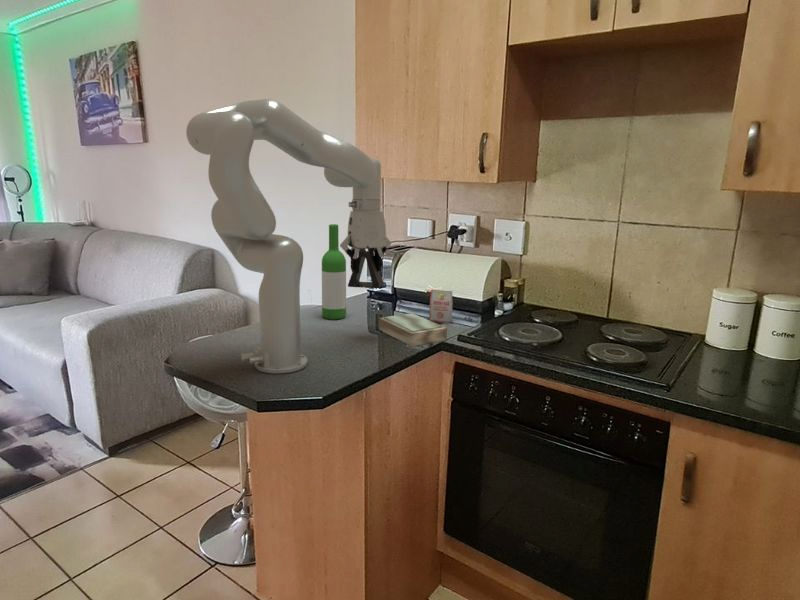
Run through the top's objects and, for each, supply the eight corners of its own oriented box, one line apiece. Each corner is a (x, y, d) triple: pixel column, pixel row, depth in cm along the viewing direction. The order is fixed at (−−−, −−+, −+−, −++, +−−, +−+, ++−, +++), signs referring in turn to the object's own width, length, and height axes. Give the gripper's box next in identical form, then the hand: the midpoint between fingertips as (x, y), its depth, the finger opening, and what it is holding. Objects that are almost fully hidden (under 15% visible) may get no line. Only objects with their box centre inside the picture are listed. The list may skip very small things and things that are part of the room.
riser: (411, 346, 146) (411, 332, 145) (379, 329, 161) (379, 316, 160) (446, 340, 152) (447, 326, 151) (412, 324, 167) (412, 312, 166)
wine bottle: (317, 316, 174) (316, 224, 167) (338, 312, 179) (338, 223, 172) (329, 321, 168) (328, 226, 161) (350, 318, 173) (350, 225, 166)
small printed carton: (431, 317, 175) (432, 288, 173) (451, 319, 174) (453, 289, 171) (429, 320, 172) (430, 290, 170) (449, 322, 170) (451, 292, 168)
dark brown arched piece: (383, 284, 151) (384, 242, 148) (379, 288, 145) (379, 244, 143) (353, 282, 153) (353, 240, 150) (347, 286, 147) (347, 243, 144)
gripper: (344, 207, 136) (344, 276, 141) (400, 206, 145) (399, 271, 150) (331, 205, 142) (332, 271, 147) (386, 204, 152) (385, 267, 156)
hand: (366, 270), depth 148 cm, fingers closed on dark brown arched piece, 6 cm apart
